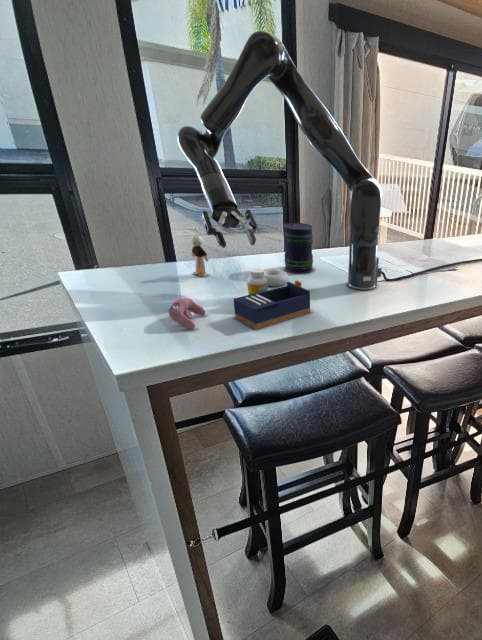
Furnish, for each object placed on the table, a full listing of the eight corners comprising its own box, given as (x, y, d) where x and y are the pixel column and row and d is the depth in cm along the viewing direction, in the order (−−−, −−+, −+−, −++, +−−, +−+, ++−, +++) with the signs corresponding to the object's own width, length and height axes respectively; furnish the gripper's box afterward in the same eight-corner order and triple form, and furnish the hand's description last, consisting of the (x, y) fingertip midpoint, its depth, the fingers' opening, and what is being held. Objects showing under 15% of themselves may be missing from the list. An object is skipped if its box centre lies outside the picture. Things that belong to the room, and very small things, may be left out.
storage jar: (318, 269, 153) (318, 227, 145) (299, 275, 145) (298, 230, 138) (298, 263, 157) (297, 221, 149) (278, 268, 150) (276, 224, 142)
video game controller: (193, 319, 112) (176, 296, 108) (208, 313, 111) (191, 289, 107) (179, 335, 103) (161, 310, 100) (195, 328, 103) (177, 303, 99)
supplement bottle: (245, 302, 121) (242, 268, 116) (262, 298, 125) (259, 266, 120) (255, 308, 118) (252, 274, 113) (272, 304, 122) (270, 271, 117)
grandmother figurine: (188, 274, 135) (181, 233, 129) (197, 271, 139) (191, 231, 132) (206, 279, 133) (201, 238, 127) (215, 276, 136) (210, 236, 130)
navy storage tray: (289, 303, 124) (288, 276, 120) (310, 312, 120) (310, 285, 115) (235, 318, 111) (232, 289, 107) (256, 329, 107) (253, 300, 103)
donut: (251, 284, 133) (280, 289, 132) (250, 274, 132) (279, 278, 130) (265, 276, 142) (293, 280, 141) (265, 265, 140) (293, 270, 139)
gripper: (194, 186, 114) (216, 239, 113) (245, 186, 122) (266, 236, 122) (190, 203, 120) (211, 254, 119) (239, 202, 128) (259, 249, 128)
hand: (239, 245), depth 120 cm, fingers open, 8 cm apart
